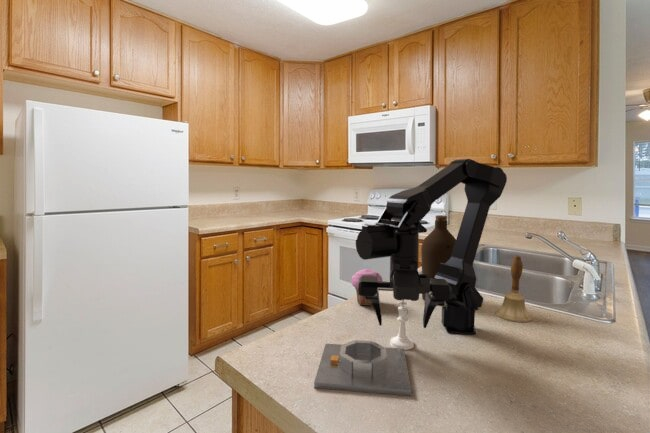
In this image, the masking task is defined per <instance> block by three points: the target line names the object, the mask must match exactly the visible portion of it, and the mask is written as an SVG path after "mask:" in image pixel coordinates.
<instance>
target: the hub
mask: <svg viewBox="0 0 650 433" xmlns="http://www.w3.org/2000/svg"><path fill="white" fill-rule="evenodd" d="M410 382H411V381H410V377H409V372H408V366H407V360H406V354H405V350H404V349H401V348H394V347H385V346H383V345H382V344H379V343H378V342H375V341H372V340H359V339H356V340H354V339H353V340H351V341H349V342H346V343H343V344H339V343H338V344H337V343H325V345H324V349H323V352H322V354H321V359H320V362H319V364H318V369H317V372H316V375H315V379H314V385H313V388H315V389H324V390H337V391H348V392H349V391H350V392H360V393H372V394H381V395H382V394H385V395H396V396H407V397H411V396H412V388H411V383H410Z"/></svg>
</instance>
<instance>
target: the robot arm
mask: <svg viewBox="0 0 650 433" xmlns="http://www.w3.org/2000/svg"><path fill="white" fill-rule="evenodd" d="M507 182H508V177H507V174H506V173H505V172H504V170H503V168H501V167H499V166H493V165H488V164H484V163H480V162H478V161H476V160H473V159H471V158H462V159H454V160H453V161H451V162H450V163H449V164H448V165H447V166H445V167H444V168H442V169H441V170H440V171H438V172H436V173H435V174H434V175H431V177H429V178H428V179H426V180H425V181H423V182H422V183H420V184H419V185H417V186H415V187H412V188H409V189H404V190H402V191H400V192H397V193H395V194H394V193H393V195H391V196H389V197H388V199H387V200H386V206H385V207H384V208H383V210H382V212H381V214H380V216H379V218H378V219H377V220H376V222H375V224H368V223H367V224H362V225H361V231H360V232H359V233H358V234H357V236H356V240H355V248H356V252H357V255H358V256H359V258H360V259H362V260H364V261H365V260H367V261H368V260H373V259H380V258H382V259H383V258H389V281H383V280H382V281H377V276H361V277H360V278H359V285H358V295H360V296H365V299H367V300H370V301H371V303H372V305H371V306H373V310H374V312H375V314H376V317H377V318H376V319H377V322H378V324H379V326H380V327H381V326H382V325H383V324H382V320H383V319H382V317H383V316H382V311H381V310H382V309H381V308H382V307H381V301H380V293H379V291H383V292H385V291H386V292H392V294H393V299H394V300H396V301H402V300H404V301H412V302H416V301H419V299H420V295H422V294H425V293H426V296H425V301H424V307H423V314H422V315H423V317H422V323H423V324H422V327H423V329H427V327H428V324H429V321H430V319H431V317H432V314H433V312H434V311H435V309H436V307H437V306H438V304H439V303H444V305H442V307H441V322H440V323H441V325H442V326H443V328H444V329H445V331H446V332H447V333H449V334H463V335H477V330H476V329H475V318H476V317H475V316H476V314H475V313H476V311H477V310H479V308H481V307H482V305H483V301H484V297H483V295H482V294H481V293H480V292H479V291H478V289H476V282H477V275H476V272H475V269H474V268H475V267H474V262H475V258H476V255H477V251H478V249H479V244H480V241H481V239H482V235H483V231H484V228H485V224H486V221H487V217H488V215H489V211H490V208H491V206H492V205H493V204H494V203H495V202H496V201H497V200H498V199H500V197H501V196H502V193H503V192H504V189H505V187H506V185H507ZM459 184H464V192H465V196H466V200H467V203H466V206H465V209H464V213H463V216H462V220H461V222H460V226H459V230H458V232H457V236H456V238H455V239H456V242H455V245H454V249H453V252H452V255H451V258H450V259H449V260H448V261H447V262H446V263H445V264H444V263H440V264H439V265H438V270H437V273H436V276H435V277H434V279H432V278H430V276H429V274H422V273H421V274H419V270H418V269H419V268H418V266H419V236H420V234H421V233H422V234H423V233H427V232H428V229H427V228H426V227H425V226H424V225H423V224H422V223H421V221H422V220H423V219H424V218H425V217H426V216H427V214H429V213H430V210H431V208H432V205H433V204H434V203H435V202H436V201H437V200H438V199H440V198H441V197H443V196H444V195H445V194H447V193H448V192H450V191H451V190H453V189H454V188H456V186H458V185H459ZM444 301H445V302H444Z"/></svg>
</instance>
